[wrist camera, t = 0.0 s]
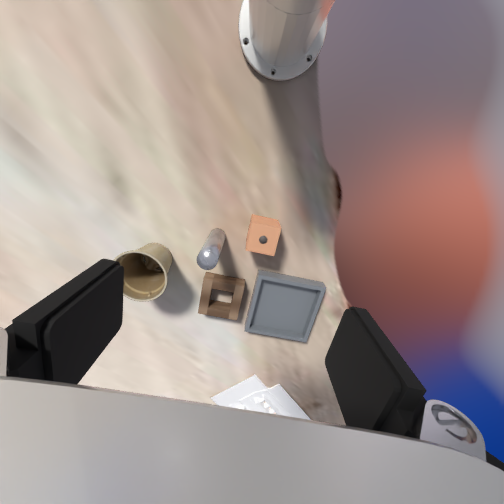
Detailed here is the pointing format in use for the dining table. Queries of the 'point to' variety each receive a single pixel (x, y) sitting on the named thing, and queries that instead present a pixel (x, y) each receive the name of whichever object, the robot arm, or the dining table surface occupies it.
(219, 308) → the walnut bore block
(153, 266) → the flower pot
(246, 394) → the white flat piece
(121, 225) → the dining table surface
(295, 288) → the grey square tray
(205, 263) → the steel pin
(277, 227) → the orange block with knob
